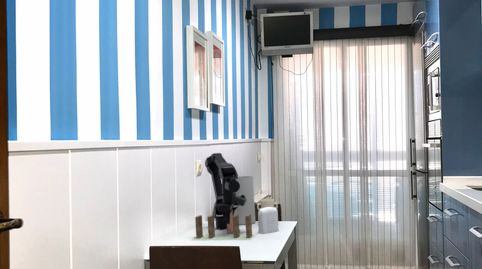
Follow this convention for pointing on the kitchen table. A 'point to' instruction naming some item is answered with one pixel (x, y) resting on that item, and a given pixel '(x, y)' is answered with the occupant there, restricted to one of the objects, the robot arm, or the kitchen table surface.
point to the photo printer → (268, 220)
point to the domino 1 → (199, 226)
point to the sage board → (225, 237)
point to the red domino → (230, 226)
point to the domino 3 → (236, 226)
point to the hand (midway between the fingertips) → (230, 223)
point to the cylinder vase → (249, 206)
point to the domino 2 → (211, 226)
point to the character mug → (267, 203)
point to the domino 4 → (248, 226)
